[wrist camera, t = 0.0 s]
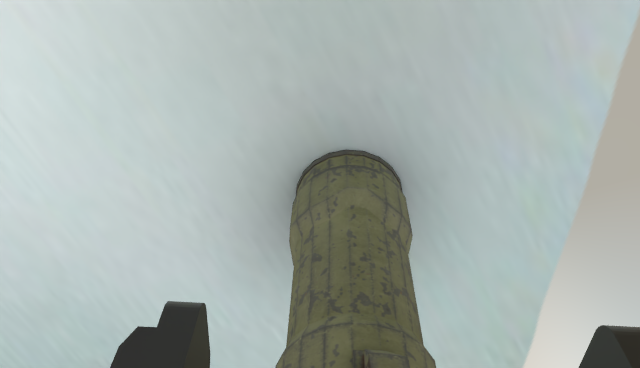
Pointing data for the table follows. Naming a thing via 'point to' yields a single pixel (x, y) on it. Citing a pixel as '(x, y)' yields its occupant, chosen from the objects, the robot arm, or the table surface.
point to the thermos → (352, 269)
